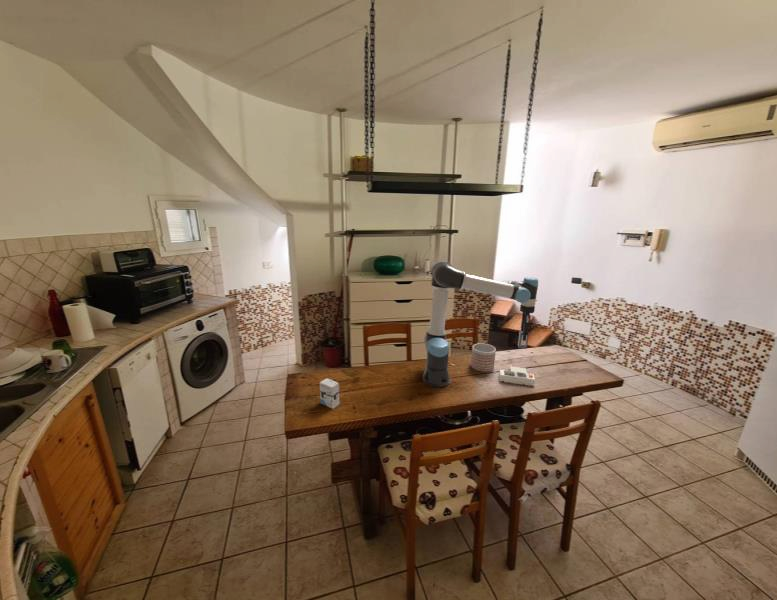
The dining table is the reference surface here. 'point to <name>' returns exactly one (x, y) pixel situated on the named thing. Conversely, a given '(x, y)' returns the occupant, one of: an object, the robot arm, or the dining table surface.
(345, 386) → the dining table surface
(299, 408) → the dining table surface
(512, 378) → the power strip
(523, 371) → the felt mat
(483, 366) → the planter
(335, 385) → the ink box
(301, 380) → the dining table surface
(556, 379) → the dining table surface
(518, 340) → the charger
